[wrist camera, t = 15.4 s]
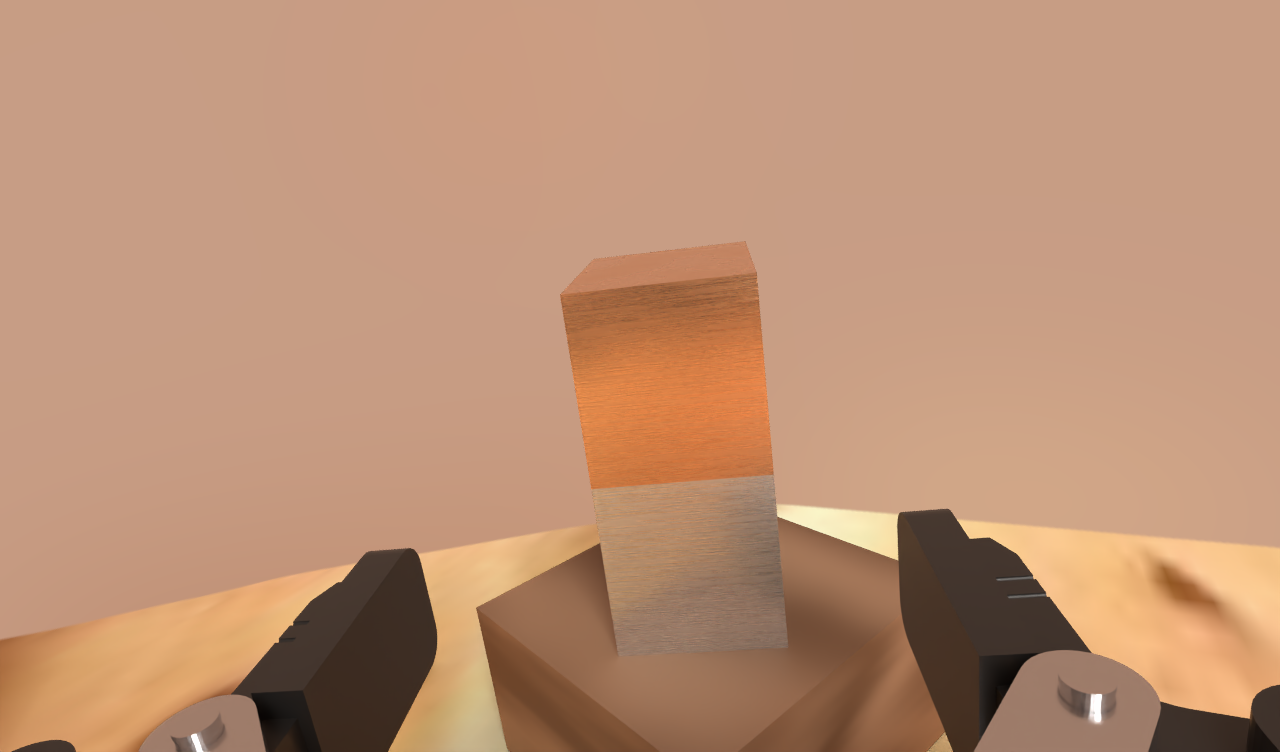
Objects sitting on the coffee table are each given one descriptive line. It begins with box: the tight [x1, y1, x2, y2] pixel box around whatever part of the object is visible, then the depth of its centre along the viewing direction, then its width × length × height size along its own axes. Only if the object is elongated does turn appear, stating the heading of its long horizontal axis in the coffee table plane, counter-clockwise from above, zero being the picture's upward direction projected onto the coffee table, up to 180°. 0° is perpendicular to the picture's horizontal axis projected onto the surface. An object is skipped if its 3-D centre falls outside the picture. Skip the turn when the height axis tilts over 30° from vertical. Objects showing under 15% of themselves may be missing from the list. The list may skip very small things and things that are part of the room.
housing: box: [560, 241, 788, 657], centre depth 23 cm, size 5×6×11 cm
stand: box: [476, 517, 945, 752], centre depth 26 cm, size 11×11×6 cm
